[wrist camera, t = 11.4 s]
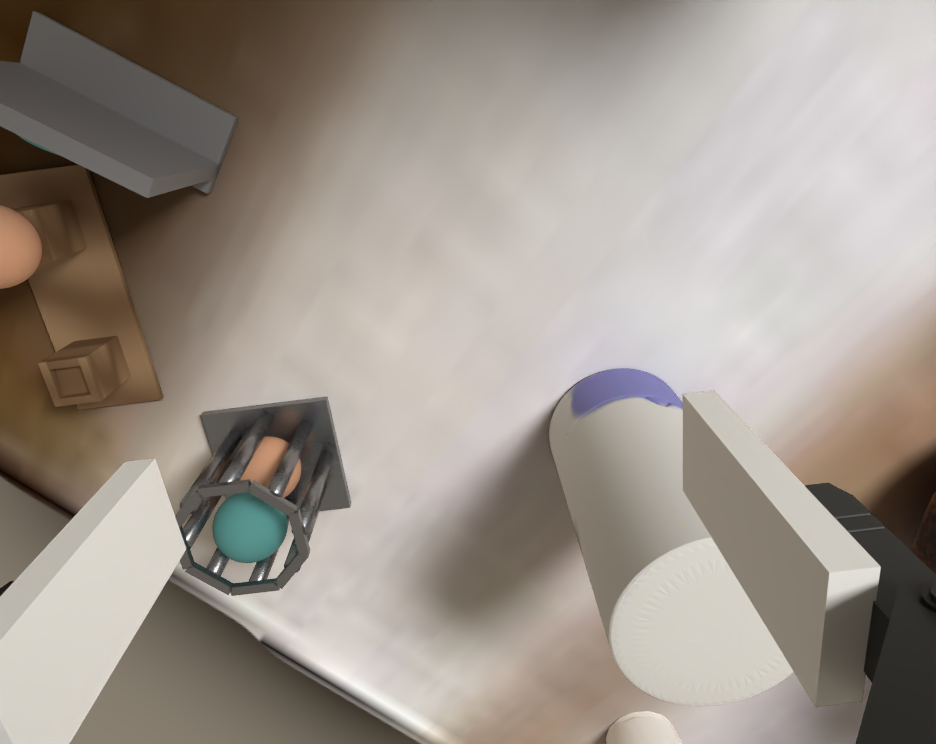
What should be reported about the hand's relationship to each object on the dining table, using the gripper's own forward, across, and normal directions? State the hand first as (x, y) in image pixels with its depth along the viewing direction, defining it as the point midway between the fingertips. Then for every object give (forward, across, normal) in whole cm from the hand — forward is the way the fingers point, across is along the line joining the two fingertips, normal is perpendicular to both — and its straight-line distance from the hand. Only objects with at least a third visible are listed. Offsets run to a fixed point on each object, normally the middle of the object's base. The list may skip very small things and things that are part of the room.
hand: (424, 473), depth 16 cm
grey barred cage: (+29, -14, -14) cm, 35 cm away
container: (+29, +11, -15) cm, 34 cm away
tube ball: (+26, -14, -13) cm, 32 cm away
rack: (+29, -24, 0) cm, 37 cm away
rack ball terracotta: (+22, -24, +4) cm, 33 cm away
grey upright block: (+29, -18, +10) cm, 35 cm away
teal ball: (+22, -14, -15) cm, 30 cm away
